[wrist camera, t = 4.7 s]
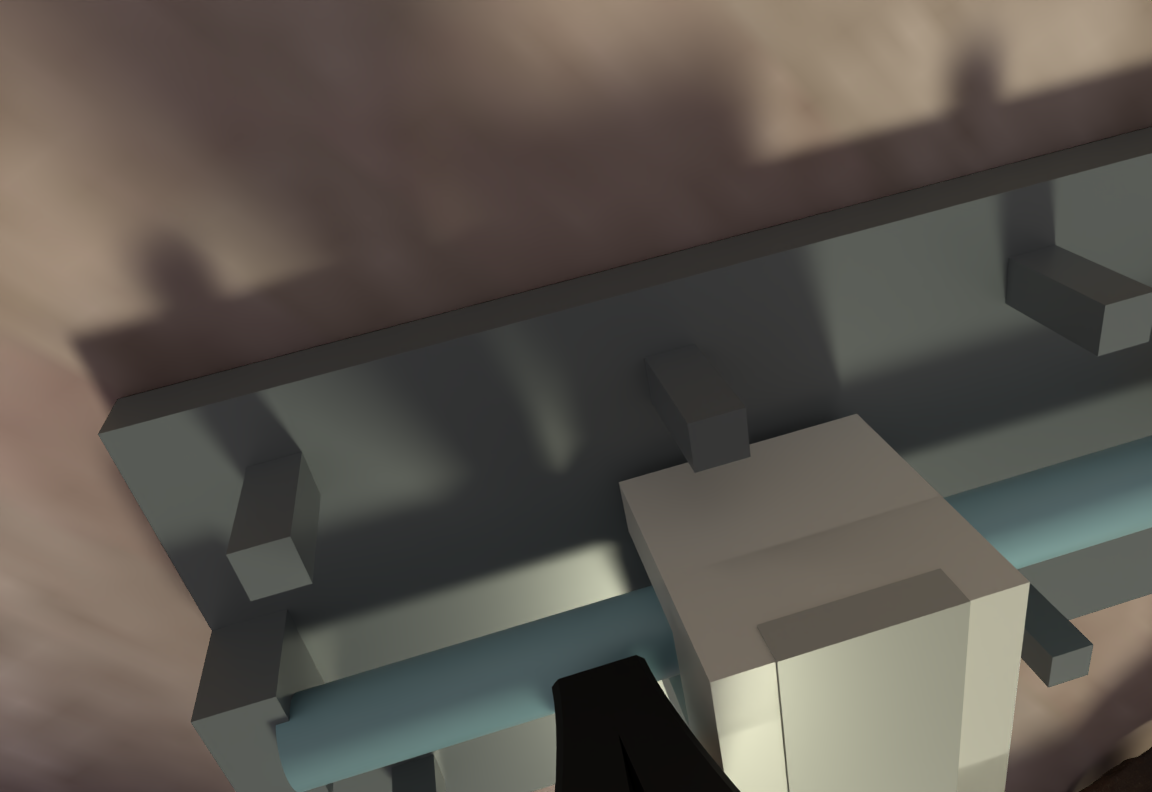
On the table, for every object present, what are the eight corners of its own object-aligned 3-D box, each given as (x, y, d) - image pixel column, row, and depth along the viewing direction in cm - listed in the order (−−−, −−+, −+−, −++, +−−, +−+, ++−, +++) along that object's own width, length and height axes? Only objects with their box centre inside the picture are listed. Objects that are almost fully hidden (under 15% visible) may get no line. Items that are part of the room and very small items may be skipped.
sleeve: (656, 667, 15) (743, 889, 12) (618, 480, 13) (711, 682, 9) (860, 603, 16) (1006, 801, 12) (856, 410, 13) (1033, 581, 10)
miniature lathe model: (342, 807, 17) (334, 1030, 14) (117, 399, 12) (12, 586, 9) (1284, 510, 19) (1489, 638, 16) (1428, 54, 14) (1777, 91, 11)
